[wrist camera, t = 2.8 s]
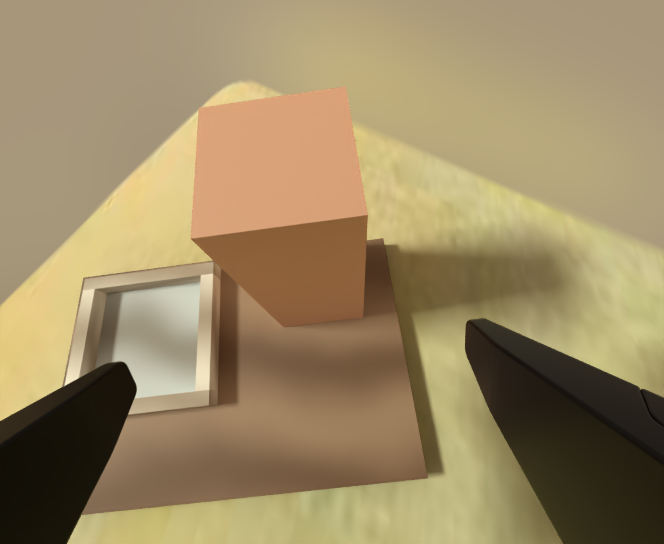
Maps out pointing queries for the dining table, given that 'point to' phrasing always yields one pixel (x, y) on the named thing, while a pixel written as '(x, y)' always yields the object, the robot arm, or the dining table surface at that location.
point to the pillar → (284, 203)
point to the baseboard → (245, 389)
